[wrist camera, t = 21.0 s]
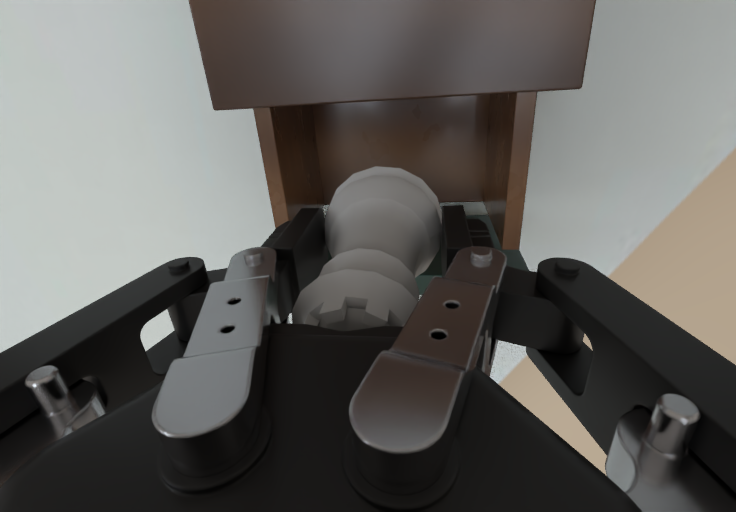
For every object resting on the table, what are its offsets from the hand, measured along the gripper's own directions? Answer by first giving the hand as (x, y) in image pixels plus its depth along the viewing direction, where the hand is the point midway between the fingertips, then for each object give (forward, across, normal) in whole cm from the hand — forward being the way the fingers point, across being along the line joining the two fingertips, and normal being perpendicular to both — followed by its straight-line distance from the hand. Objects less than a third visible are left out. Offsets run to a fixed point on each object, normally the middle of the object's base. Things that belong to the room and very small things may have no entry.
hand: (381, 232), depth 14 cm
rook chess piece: (+1, 0, 0) cm, 1 cm away
